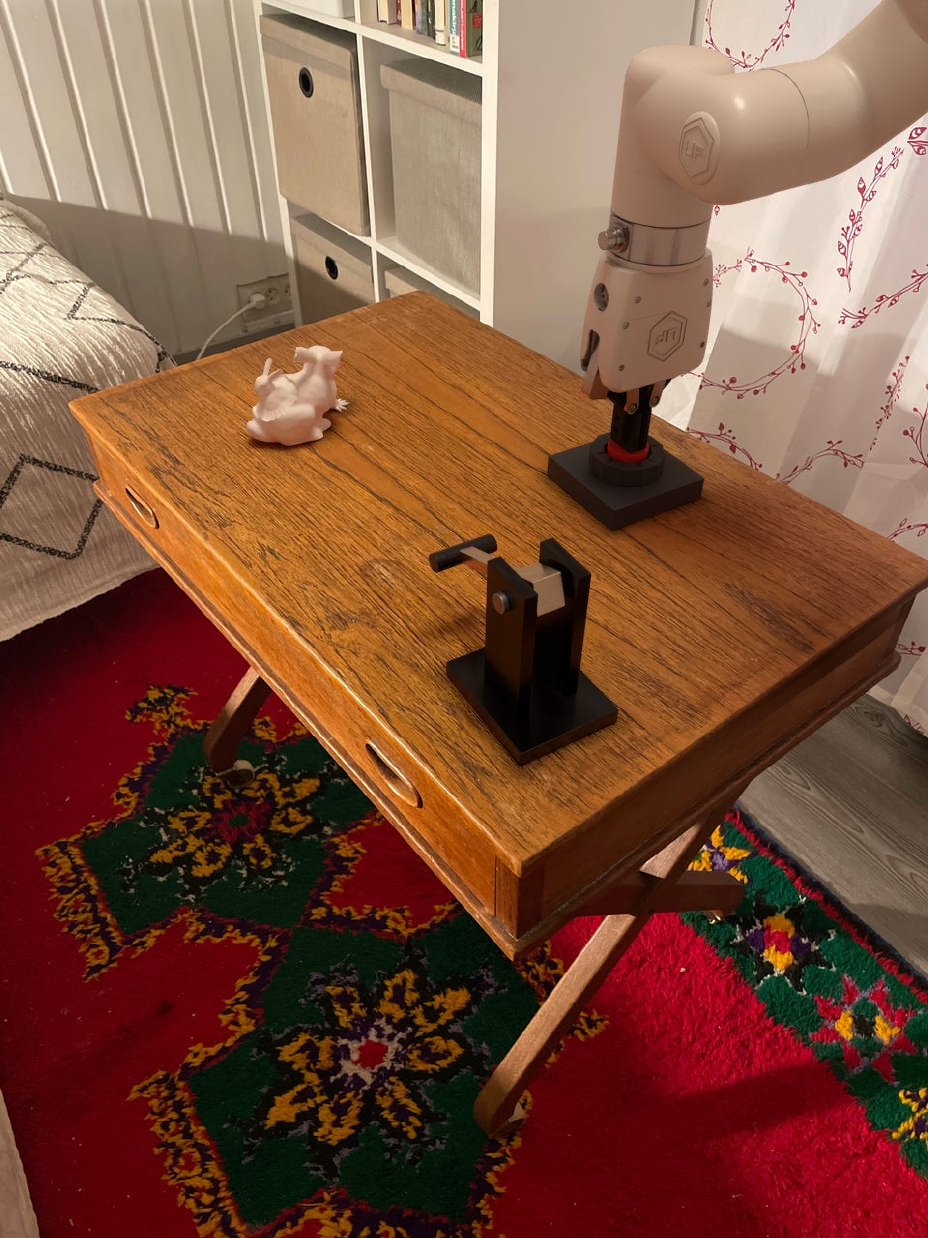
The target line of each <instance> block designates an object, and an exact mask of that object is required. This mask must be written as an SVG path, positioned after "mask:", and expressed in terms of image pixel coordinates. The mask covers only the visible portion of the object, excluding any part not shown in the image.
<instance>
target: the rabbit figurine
mask: <svg viewBox="0 0 928 1238" xmlns="http://www.w3.org/2000/svg"><path fill="white" fill-rule="evenodd" d="M343 354H344V351H343V350H338V351H337V350H333V351H332V350H331V349H330V348H328V347H326V346H323V345H312V346H311V347H309V348H307V347H302V346H299V347H298V346H295V350H294V354H293V359H292V363H297V364H298V363H303V366H302V368H301V370H300V371H298V372H294V373H283V372H284V370H283V369H282V368H278V369H277V370H275V371H273V372H271V373H270V374H269V372H270V369H271V366H272V364H273V359H272V358H271V357H269V358H267V359H266V361H265V364H264V366H263V371H262V374H261V375H259V376H258V377H256V379H255V383H254V392H255V394H256V395H258V396H259V401H258V402H257V403H256V404H255V405H254V406H252V416H253V417H252V418H253V419H252V420H248V421H247V422H246V431H247V433H248V434H249V435H250V436H251V437H252V438H253V439H255V440H257V441H260V442H264V443H280V444H282V445H284V446H296V445H299V444H303V443H307V442H313V441H318V440H320V439H322V438H323V437H324V435H323V432H324V431H326V430H328V429H329V428H330V427H331V426H332V422H331V421H330V419H328V418H324V417H323V415H324V414H325V413H326V412H328V411H329V410H330V409H331V410H336V411H337V412H338V413H339V412H341V413H342V410H343V411H345V410H347V408H346V406H348V405H349V404H350V402H348V401H347V400H346V399H344V400H343V398H338V399H337V395H338V389H337V384H336V381H335V376H336V373H337V369H339V368H340V367H341V357H342V355H343Z"/></svg>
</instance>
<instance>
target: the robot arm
mask: <svg viewBox="0 0 928 1238" xmlns="http://www.w3.org/2000/svg"><path fill="white" fill-rule="evenodd" d="M927 113H928V0H881V1H880V2H879V3H878V4H877V5H876V6H875V7H874V8H873V9H872V10H871V11H870V12H869V13H868V14H867V15H866V16H865V17H864V18H863V19H861V21H859V23H857V24H856V25H855V26H854V27H852V29H851V30H849V31H848V32H847V33H846V34H845V35H844V36H843V37H842V38H841V39H839V40H838V41H837V42H836V43H835V44H833V45H832V46H831V47H830V48H828V49H827V50H826V51H825V52H823V53H822V54H821V55H819V56H818V57H816V58H814V59H809V60H808V59H807V60H802V61H795V62H790V63H784V64H779V65H772V66H768V67H767V66H766V67H763V68H759V69H755V70H748V71H741V72H736V70H735V65H734V64H733V62H732V60H731V59H730V58H729V57H728V56H727V55H726V54H724V53H723V52H720V51H718V50H717V49H713V48H709V47H704V46H698V45H690V44H689V45H688V44H662V45H655V46H650V47H647V48H645V49H644V48H643V49H642V50H640V51H639V52H638V53H636V54H635V55H634V56H632V59H631V60H630V62H629V63H628V65H627V69H626V72H625V75H624V82H623V90H622V100H621V109H620V119H619V127H618V136H617V147H616V153H615V162H614V164H615V165H614V172H613V173H614V174H613V181H612V191H611V201H610V210H609V218H608V225H607V226H608V227H607V229H606V230H602V231H600V232H599V234H598V236H597V244H598V247H599V248H600V250H602V251H604V252H602V253H600V255H599V257H598V261H597V264H596V268H595V271H594V275H593V279H592V281H591V286H590V290H589V294H588V299H587V304H586V308H585V314H584V320H583V325H582V326H583V327H582V334H581V342H580V352H579V353H580V356H579V357H580V360H579V361H580V362H579V363H580V369H581V370H582V371H583V372H585V374H584V378H583V381H582V384H581V389H580V392H581V393H582V394H583V395H584V396H586V397H587V398H588V399H590V400H593V401H594V400H597V401H598V400H607V399H608V401H610V402H611V403H613V406H612V415H611V422H610V430H609V432H610V438H611V440H613V441H614V442H615V443H616V444H618V445H619V446H620V447H622V448H623V449H624V450H626V451H627V452H628V453H633V452H636V450H637V449H638V450H642V449H645V448H646V445H647V439H648V435H649V433H650V425H651V419H652V414H653V409H654V408H656V407H657V406H659V404H660V402H661V399H662V395H663V392H664V391H665V389H666V388H667V387H668V385H669V384H670V383H671V382H672V380H674V379H676V378H677V377H680V376H682V375H686V374H688V373H691V372H693V371H694V370H696V369H697V368H699V366H700V365H702V363H703V361H704V357H705V354H706V349H707V343H708V339H709V333H710V332H709V331H710V326H711V325H710V324H711V317H712V309H713V308H712V307H713V295H714V262H713V252H712V250H711V249H710V248H709V247H707V245H708V244H707V243H708V238H709V233H710V227H711V223H712V218H713V217H712V216H713V212H714V206H733V205H738V204H742V203H745V202H750V201H754V200H757V199H762V198H765V197H768V196H771V195H774V194H777V193H780V192H783V191H788V190H792V189H795V188H799V187H803V186H807V185H808V186H809V185H812V184H815V183H820V182H823V181H827V180H829V179H831V178H835V177H837V176H839V175H841V174H842V173H845V172H847V171H849V170H850V169H852V168H853V167H855V166H856V165H858V164H859V163H861V162H862V161H864V160H866V159H867V158H868V157H870V156H871V155H872V154H874V153H875V152H877V151H878V150H880V149H881V148H882V147H884V146H885V145H887V144H888V143H889V142H890V141H893V139H895V138H896V137H897V136H898V135H900V134H901V133H903V132H904V131H905V130H907V129H909V128H910V127H911V126H913V125H914V124H915V123H916V122H918V121H919V120H920V119H922V118H923V117H924V116H926V114H927Z"/></svg>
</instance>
